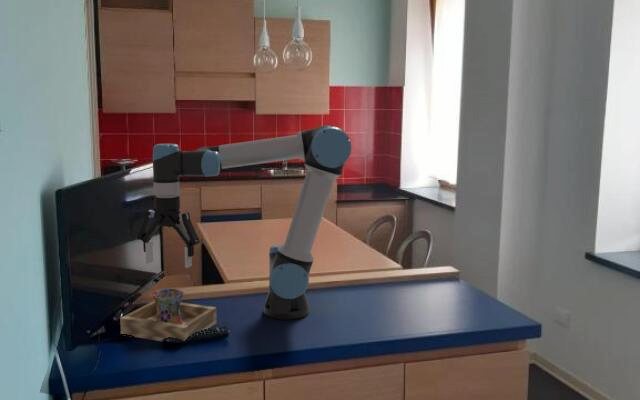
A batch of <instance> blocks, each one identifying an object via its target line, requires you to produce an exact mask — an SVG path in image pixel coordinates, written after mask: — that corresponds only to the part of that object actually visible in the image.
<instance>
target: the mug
mask: <svg viewBox="0 0 640 400" xmlns="http://www.w3.org/2000/svg"><path fill="white" fill-rule="evenodd" d="M184 294H185V292H184V291H183V290H181V289H179V288H164V289H163V288H162V289H158V290H155V291H154V292H153V293H152V294H151V296H152V298H153V301H154V300H155V303H156V306H157V319H156V321H161V322H168V323H174V324H181V325H182V324H183V321H182V319H181V316H180V303H182V299H183V296H184Z"/></svg>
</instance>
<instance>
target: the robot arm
mask: <svg viewBox="0 0 640 400" xmlns="http://www.w3.org/2000/svg"><path fill="white" fill-rule="evenodd" d="M351 142H352V141H351V140H350V137H349V135H348V134H347V133H346V131H345V130H343V129H342V128H340V127H337V126H333V125H329V124H327V125H321V126H317V127H315V128H310V129H307V130H299V131H298V132H297V134H294V135H293V134H292V135H286V136H279V137H270V138H263V139H256V140H250V141H243V142H234V143H227V144H221V145H214V146H213V145H211V146H201V147H198V148H197V149H196V150H180V146H179V145H178V144H176V143H157V144H155V145H154V146H153V147H152V160H151V161H152V174H153V175H152V176H153V177H152V178H153V195H154V198H153V207H154V209H155V210H154V209H149V210H146V211H145V215H144V216H145V217H144V220H143V223H142V224H141V227H140V230H139V232H138V234H137V236H136V238H137V240H140V241H142V242H143V243H142V245H143V252H144V253H145V264H146V265H148V264H151V263H153V262H154V247H153V246H154V245H153V243H154V242H153V240H152V239H153V236H154V235H155V234H156V233H157V231H158V230H159V229H160V227H162V228H163V227H166V228H172V229H173V230H175V231H176V232H177V234H178V236H179V237H180V239H182V240H183V242H184V244H185V246H184V268H185V269H189V268H190V267H192V266H193V262H192V261H193V260H192V259H193V257H194V255H195V245H198V244H200V242H201V240H200V238H199V236H198V234H197V232H196V230H195V227H194V225H193V223H192V221H191V217H190V216H191V215H190V212H188V211H187V212H184V213H181V211H180V208H181V198H180V196H179V195H180V193H181V192H180V177H185V176H186V177H206V178H208V177H209V178H210V177H216V176H218V175H220V170H223V169H230V168H238V167H244V166H245V167H246V166H253V165H261V164H268V163H274V162H281V161H289V160H290V161H291V160H296V159H300V160H302V161H303V162H304V166H305V169H306V175H305V177H304V181H303V184H302V188H301V190H300V193H299V197H298V199H297V203H296V207H295V209H294V212H293V216H292V220H291V223H290V225H289V228H288V231H287V235H286V237H285V242H284V244H275V245H272V246H270V248H269V253H268V257H269V275H268V278H269V281H268V282H269V284H268V285H269V286H268V287H269V289H268V293H267V296H266V299H265V302H264V304H263V305H264V306H263V313H264V315H266V316H267V317H268V318H272V319H276V320H296V319H301V318H304V317H306V316H308V315H309V312H310V305H309V302H308V299H307V295H306V290H307V289H308V287H309V283H310V282H309V281H310V279H309V275H310V272H311V270H312V266H313V263H314V257H313V255H312V251H313V247H314V244H315V241H316V237H317V234H318V231H319V228H320V226H321V222H322V219H323V215H324V212H325V209H326V207H327V204H328V200H329V196H330V194H331V191H332V187H333V184H334V181H335V180H336V179H338V178H339V177H341V176H342V174H343V173H342V172H343V169H344V168H345V167H344V166H345V164H346V163H347V161H348V159H349V158H350V157H351V152H352V143H351ZM153 218H155V219H156V220H155V222H153ZM181 221H182V222H181ZM152 222H153V225H152V226H151V224H152ZM150 226H151V228H150Z"/></svg>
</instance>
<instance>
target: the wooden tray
mask: <svg viewBox="0 0 640 400" xmlns="http://www.w3.org/2000/svg"><path fill="white" fill-rule="evenodd" d="M180 316H181V319H182V321H183V324H182V325H181V324H174V323H168V322H161V321H156V319H157V306H156V303H155V300H154V299H153V300H152V301H150V302H148V303H147V304H145V305H143V306H141V307H138V308H136V309H135V310H133V311H132V312H130V313H127V314H126V315H124V316H122V317H120V319H119V321H120V322H119V324H120V335H121V334H127V335H132V336H134V338H140V339H145V340H152V341H157V342H158V341H159V342H163V341H162V340H163V339H164V338H168V337H173V338H178V339H181V340H183V341H185V340H186V339H187V338H188V337H189V336H191V335H192V334H193V333H195V332H197V331H200V330H204V329H207V330H209V329H210V328H212V327H213V326H215V325H216V324H217V320H218V319H217V306H211V305H210V306H208V305H202V304H193V303H187V302H181V303H180ZM208 328H209V329H208ZM132 336H131V337H132Z"/></svg>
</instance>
